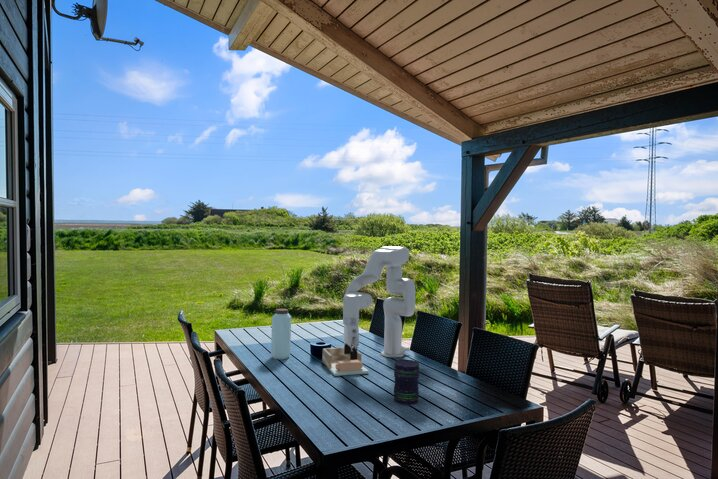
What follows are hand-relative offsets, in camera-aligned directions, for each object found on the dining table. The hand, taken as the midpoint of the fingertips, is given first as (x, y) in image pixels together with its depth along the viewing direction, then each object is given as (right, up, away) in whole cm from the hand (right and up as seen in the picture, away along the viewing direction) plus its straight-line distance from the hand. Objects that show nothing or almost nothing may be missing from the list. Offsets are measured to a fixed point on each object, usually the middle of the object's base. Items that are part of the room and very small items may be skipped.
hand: (350, 356), depth 213 cm
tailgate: (-2, -6, +3) cm, 7 cm away
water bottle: (-37, -6, +22) cm, 43 cm away
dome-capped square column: (-1, -6, -2) cm, 6 cm away
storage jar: (+23, -8, -36) cm, 43 cm away
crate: (-5, -7, +11) cm, 13 cm away
